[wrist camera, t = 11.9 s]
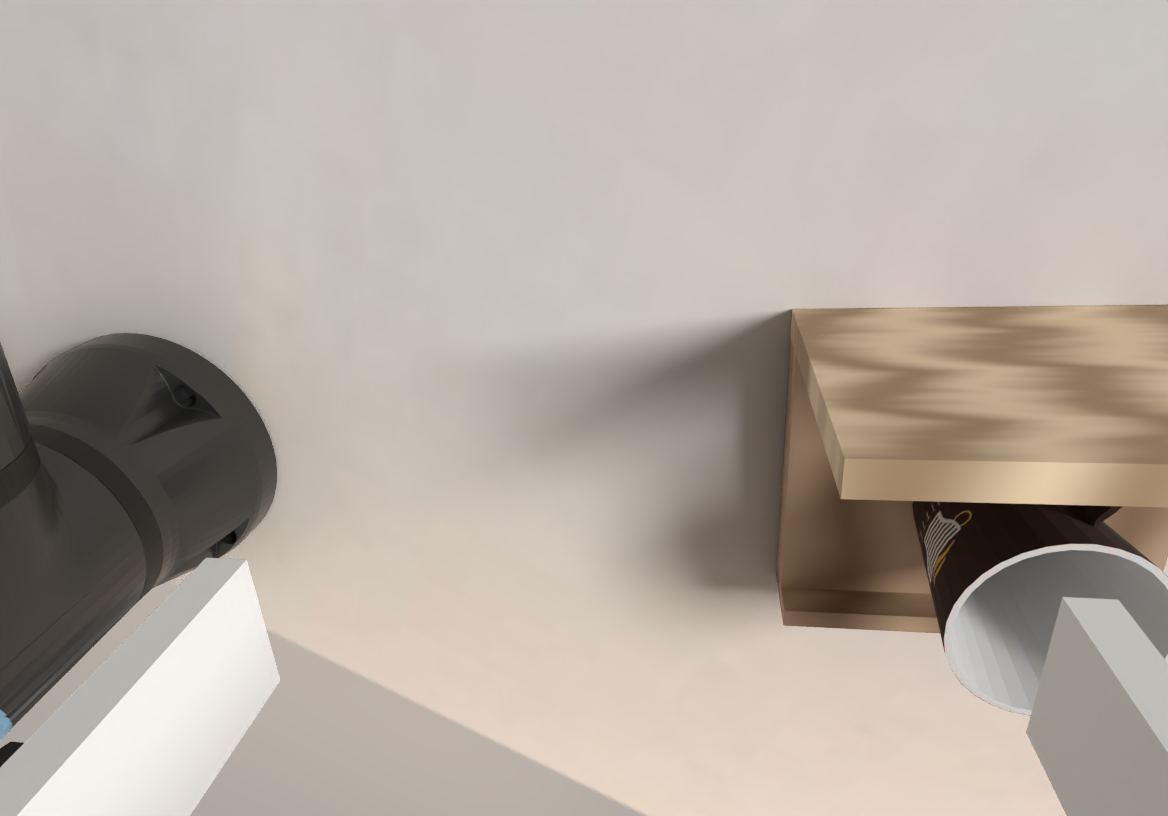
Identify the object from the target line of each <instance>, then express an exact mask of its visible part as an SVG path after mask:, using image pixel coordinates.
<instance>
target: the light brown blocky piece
mask: <svg viewBox="0 0 1168 816" xmlns="http://www.w3.org/2000/svg"><path fill="white" fill-rule="evenodd" d="M913 501H933V502H972V503H1012V504H1051V505H1091V506H1123V507H1122V508H1121V509H1119V510H1118V511H1117V512H1116V513H1115V514H1113V515H1112V516H1110V517H1109V518H1107V519H1106V520H1104V521H1103V522H1105V523H1106V524H1107V525H1108V526H1109V527H1111V528H1112V529H1113V530H1114V531H1115V532H1117V533H1118V534H1119V535H1120V536H1121V537H1123V538H1124V539H1125V540H1126V541H1127V542H1129V543H1130V544H1131V545H1132V546H1133V547H1135V548H1136V549H1137V550H1138V551H1139V552H1141V553H1142V554H1143V555H1144V556H1145V557H1147V558H1148V559H1149V560H1150V561H1151V562H1153V563H1154V564H1155V565H1156V566H1157V567H1159V568H1160V569H1161V570H1162V571H1163V570H1164V566H1165V563H1166V560H1167V557H1168V305H1119V306H1031V307H944V308H857V309H792V319H791V336H790V353H789V370H788V387H787V404H786V421H785V438H784V454H783V471H782V488H781V505H780V522H779V539H778V556H777V573H776V576H777V583H778V590H779V597H780V604H781V611H782V618H783V625H786V626H806V627H826V628H846V629H866V630H885V631H905V632H925V633H940V629H939V625H938V620H937V616H936V612H935V607H934V603H933V599H932V594H931V590H930V586H929V581H928V577H927V573H926V568H925V564H924V560H923V555H922V551H921V547H920V542H919V538H918V533H917V529H916V525H915V520H914V516H913V508H912V504H913Z"/></svg>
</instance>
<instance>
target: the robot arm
mask: <svg viewBox="0 0 1168 816" xmlns="http://www.w3.org/2000/svg"><path fill="white" fill-rule="evenodd" d="M276 482H277V467H276V459H275V454H274V449H273V446H272V442H271V439H270V437H269V434H268V432H267V429H266V427H265V425H264V423H263V421H262V419H261V417H260V416H259V414H258V412H257V411H256V409H255V407H254V406H253V405H252V403H251V402H250V400H249V399H248V398H247V397H246V395H245V394H244V393H243V392H242V391H241V389H240V388H239V387H238V386H237V385H236V384H235V383H234V382H233V381H232V380H231V379H230V378H229V377H228V376H227V375H226V374H224V373H223V372H222V371H221V370H220V369H218V368H217V367H216V366H215V365H213V364H212V363H210V362H209V361H208V360H206V359H205V358H203V357H201V356H200V355H198V354H196V353H195V352H193V351H191V350H189V349H187V348H185V347H183V346H181V345H178V344H176V343H173V342H171V341H168V340H164V339H161V338H157V337H153V336H148V335H142V334H128V333H124V334H112V335H107V336H102V337H99V338H96V339H93V340H91V341H88V342H86V343H84V344H82V345H80V346H78V347H75V348H73V349H71V350H69V351H67V352H65V353H63V354H61V355H59V356H58V357H56V358H55V359H53V360H52V361H51V362H49V363H48V364H47V365H45V366H44V367H43V368H42V369H41V370H40V371H39V373H38V374H37V375H36V376H35V377H34V379H33V380H32V382H31V383H30V384H29V385H28V386H27V387H26V388H25V389H24V390H23V391H22V392H21V393H20V394H18V391H17V388H16V386H15V383H14V380H13V377H12V374H11V371H10V368H9V365H8V363H7V360H6V357H5V354H4V351H3V348H2V345H1V342H0V740H1V739H3V738H4V737H5V735H6V734H7V733H8V732H10V729H11V728H12V727H13V726H14V725H15V724H16V723H17V722H18V721H19V720H20V719H21V718H22V717H23V716H24V715H25V714H26V713H27V712H28V711H29V710H30V709H31V708H32V707H33V706H34V705H35V704H36V703H37V702H38V701H39V700H40V699H41V698H42V697H43V696H44V695H45V694H46V693H47V692H48V691H49V690H50V689H51V688H52V687H53V686H54V685H55V684H56V683H57V682H58V681H59V680H60V679H61V678H62V677H63V676H64V675H65V674H66V673H67V672H68V671H69V670H70V669H71V668H72V667H73V666H74V665H75V664H76V663H77V662H78V661H79V660H80V659H81V658H82V657H83V656H84V655H85V654H86V653H87V652H88V651H89V650H90V649H91V648H92V647H93V646H94V645H95V644H96V643H97V642H98V641H99V640H100V639H101V638H102V637H103V636H104V635H105V634H106V633H107V632H108V631H109V630H110V629H111V628H112V627H113V626H114V625H115V624H116V623H117V622H118V621H119V620H120V619H121V618H122V617H123V616H124V615H125V614H126V613H127V612H128V611H129V610H130V609H131V608H132V607H133V606H134V605H135V604H136V603H137V602H138V601H139V600H140V599H141V598H142V597H143V596H144V595H146V593H148V592H149V591H150V590H151V589H152V588H154V587H156V586H158V585H160V584H163V583H165V582H167V581H169V580H171V579H174V578H176V577H178V576H180V575H183V574H185V573H187V572H189V571H191V570H194V569H195V570H194V571H193V572H192V573H191V574H190V575H189V576H188V577H187V578H186V579H185V580H184V581H183V582H182V583H181V584H180V585H179V586H178V587H177V588H176V589H175V590H174V591H173V592H172V593H171V594H170V595H169V596H168V597H167V598H166V599H165V600H164V601H163V602H162V603H161V604H160V605H159V606H158V607H157V608H156V609H155V611H154V612H153V613H151V615H149V617H148V618H147V619H146V620H145V621H144V622H143V623H142V624H141V625H140V626H139V627H138V628H137V629H136V630H135V631H134V632H133V633H132V634H131V635H130V636H129V637H128V638H127V639H126V640H125V641H124V642H123V643H122V644H121V645H120V646H119V647H118V648H117V649H116V650H115V651H114V652H113V653H112V654H111V655H110V656H109V657H108V658H107V659H106V660H105V661H104V662H103V663H102V664H101V665H100V667H98V669H97V670H96V671H95V672H94V673H93V674H92V675H91V676H90V677H89V678H88V679H87V680H86V681H85V682H84V683H83V684H82V685H81V686H80V687H79V688H78V689H77V690H76V691H75V692H74V693H73V694H72V695H71V696H70V697H69V698H68V699H67V700H66V701H65V702H64V703H63V704H62V705H61V706H60V707H59V708H58V709H57V710H56V711H55V712H54V713H53V714H52V715H51V716H50V717H49V718H48V719H47V721H45V723H44V724H42V725H41V726H40V728H39V729H38V730H37V731H36V732H35V733H34V734H33V735H32V736H31V737H30V738H29V739H28V740H27V741H26V742H25V743H19V742H9V743H8V744H7V745H5V746H4V747H2V748H1V749H0V816H190V814H191V813H192V812H193V810H194V808H195V807H196V806H197V804H198V802H199V801H200V800H201V798H202V797H203V795H204V794H205V792H206V791H207V789H208V788H209V786H210V784H211V783H212V782H213V780H214V779H215V777H216V776H217V774H218V773H219V771H220V770H221V768H222V767H223V765H224V764H225V762H226V761H227V759H228V758H229V756H230V755H231V753H232V752H233V750H234V749H235V747H236V746H237V744H238V743H239V741H240V740H241V738H242V737H243V735H244V734H245V732H246V731H247V729H248V728H249V726H250V725H251V723H252V722H253V721H254V719H255V718H256V716H257V714H258V713H259V712H260V710H261V709H262V707H263V705H264V704H265V703H266V701H267V700H268V698H269V697H270V695H271V694H272V692H273V691H274V689H275V688H276V686H277V685H278V683H279V682H280V677H279V674H278V671H277V667H276V663H275V659H274V656H273V652H272V649H271V645H270V641H269V638H268V634H267V631H266V627H265V623H264V620H263V616H262V613H261V609H260V606H259V602H258V598H257V595H256V591H255V588H254V584H253V580H252V577H251V573H250V570H249V566H248V562H247V560H244V559H222V558H220V557H221V556H223V555H225V554H227V553H228V552H230V551H231V550H232V549H234V548H235V547H236V546H238V545H239V544H240V543H241V542H242V541H243V540H244V539H245V538H246V537H247V536H248V535H249V534H250V533H251V532H252V531H253V529H254V528H255V527H256V526H257V525H258V524H259V523H260V522H261V521H262V520H263V518H264V517H265V515H266V514H267V512H268V510H269V508H270V506H271V503H272V501H273V498H274V494H275V489H276ZM1026 733H1027V735H1028V737H1029V739H1030V741H1031V743H1032V745H1033V747H1034V749H1035V751H1036V753H1037V755H1038V757H1039V759H1040V762H1041V764H1042V766H1043V768H1044V770H1045V772H1046V774H1047V776H1048V778H1049V780H1050V782H1051V784H1052V786H1053V788H1054V790H1055V792H1056V794H1057V796H1058V798H1059V801H1060V803H1061V805H1062V807H1063V809H1064V811H1065V813H1066V815H1067V816H1168V663H1167V662H1166V660H1165V659H1164V658H1163V656H1162V655H1161V654H1160V653H1159V651H1158V650H1157V649H1156V647H1155V646H1154V645H1153V644H1152V642H1151V641H1150V640H1149V638H1148V637H1147V636H1146V635H1145V633H1144V632H1143V631H1142V629H1141V628H1140V627H1139V626H1138V624H1137V623H1136V622H1135V620H1134V619H1133V618H1132V617H1131V615H1130V614H1129V613H1128V611H1127V610H1126V609H1125V607H1124V606H1123V605H1122V604H1121V602H1120V601H1119V600H1117V599H1095V598H1073V597H1062V600H1061V604H1060V608H1059V612H1058V615H1057V619H1056V623H1055V627H1054V630H1053V634H1052V638H1051V642H1050V645H1049V649H1048V653H1047V657H1046V660H1045V664H1044V668H1043V672H1042V675H1041V679H1040V683H1039V687H1038V690H1037V694H1036V698H1035V702H1034V705H1033V709H1032V713H1031V717H1030V720H1029V724H1028V728H1027V732H1026Z"/></svg>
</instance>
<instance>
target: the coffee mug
mask: <svg viewBox="0 0 1168 816" xmlns="http://www.w3.org/2000/svg"><path fill="white" fill-rule="evenodd" d="M1122 507H1123V506H1091V505H1051V504H1012V503H972V502H933V501H913V504H912V508H913V516H914V520H915V525H916V529H917V533H918V538H919V542H920V547H921V551H922V555H923V560H924V564H925V568H926V573H927V577H928V581H929V586H930V590H931V594H932V599H933V603H934V607H935V612H936V616H937V620H938V625H939V629H940V633H941V638H942V642H943V646H944V651H945V655H946V658H947V660H948V663H949V665H950V668H951V670H952V672H953V673H954V674H955V676H956V677H957V678H958V680H959V681H960V683H961V684H962V685H963V686H965V687H966V688H967V689H968V690H969V691H970V692H971V693H972V694H974V695H975V696H977V697H978V698H980V699H982V700H984V701H985V702H987V703H989V704H990V705H993V706H996V707H999V708H1001V709H1004V710H1007V711H1009V712H1014V713H1019V714H1024V715H1029V716H1031V713H1032V709H1033V705H1034V702H1035V698H1036V694H1037V690H1038V687H1039V683H1040V679H1041V675H1042V672H1043V668H1044V664H1045V660H1046V657H1047V653H1048V649H1049V645H1050V642H1051V638H1052V634H1053V630H1054V627H1055V623H1056V619H1057V615H1058V612H1059V608H1060V604H1061V600H1062V597H1073V598H1095V599H1117V600H1119V601H1120V602H1121V604H1122V605H1123V606H1124V607H1125V609H1126V610H1127V611H1128V613H1129V614H1130V615H1131V617H1132V618H1133V619H1134V620H1135V622H1136V623H1137V624H1138V626H1139V627H1140V628H1141V629H1142V631H1143V632H1144V633H1145V635H1146V636H1147V637H1148V638H1149V640H1150V641H1151V642H1152V644H1153V645H1154V646H1155V647H1156V649H1157V650H1158V651H1159V653H1160V654H1161V655H1162V656H1163V658H1164V659H1165V660H1166V662H1167V663H1168V576H1167V575H1166V574H1165V573H1164V572H1163V571H1162V570H1161V569H1160V568H1159V567H1157V566H1156V565H1155V564H1154V563H1153V562H1151V561H1150V560H1149V559H1148V558H1147V557H1145V556H1144V555H1143V554H1142V553H1141V552H1139V551H1138V550H1137V549H1136V548H1135V547H1133V546H1132V545H1131V544H1130V543H1129V542H1127V541H1126V540H1125V539H1124V538H1123V537H1121V536H1120V535H1119V534H1118V533H1117V532H1115V531H1114V530H1113V529H1112V528H1111V527H1109V526H1108V525H1107V524H1106V523H1105V522H1103V521H1104V520H1106V519H1107V518H1109V517H1110V516H1112V515H1113V514H1115V513H1116V512H1117V511H1118V510H1119V509H1121V508H1122Z"/></svg>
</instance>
